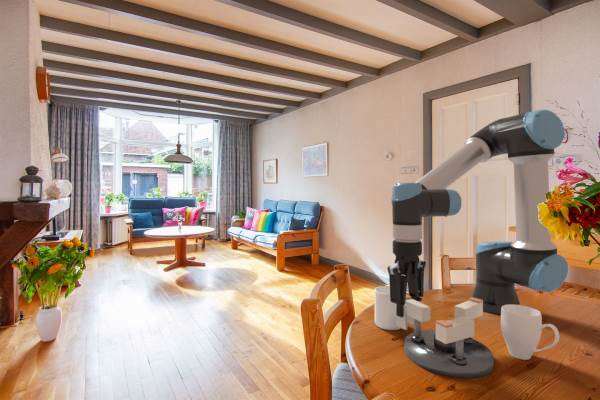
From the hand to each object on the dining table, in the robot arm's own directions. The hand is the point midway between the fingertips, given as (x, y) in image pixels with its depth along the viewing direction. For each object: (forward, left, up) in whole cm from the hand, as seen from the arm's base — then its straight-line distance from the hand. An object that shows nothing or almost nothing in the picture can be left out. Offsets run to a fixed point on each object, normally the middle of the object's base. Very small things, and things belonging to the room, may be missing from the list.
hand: (407, 325), depth 88 cm
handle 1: (-1, +2, -1) cm, 3 cm away
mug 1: (0, -9, -5) cm, 10 cm away
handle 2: (-14, +5, -1) cm, 15 cm away
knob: (-4, +16, -1) cm, 16 cm away
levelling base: (-7, +8, -4) cm, 11 cm away
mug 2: (-26, +12, -5) cm, 28 cm away
